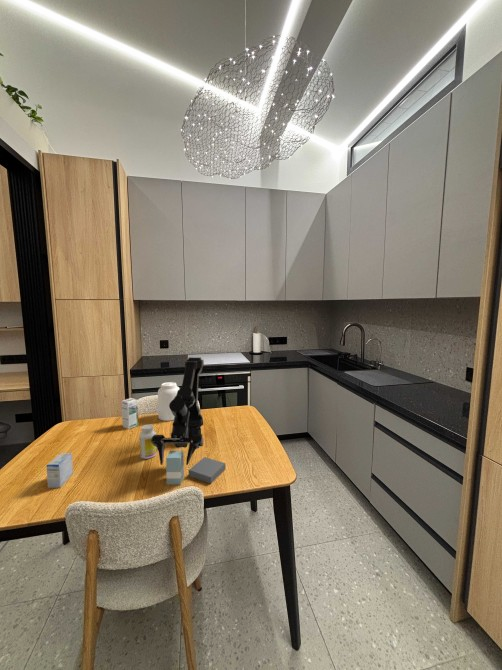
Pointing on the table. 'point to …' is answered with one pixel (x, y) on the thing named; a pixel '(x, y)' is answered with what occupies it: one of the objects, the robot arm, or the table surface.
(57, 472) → the medicine box
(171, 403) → the robot arm
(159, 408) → the white plastic jar
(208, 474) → the podium
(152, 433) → the supplement bottle
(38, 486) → the table surface
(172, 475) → the carton
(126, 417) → the syrup box
